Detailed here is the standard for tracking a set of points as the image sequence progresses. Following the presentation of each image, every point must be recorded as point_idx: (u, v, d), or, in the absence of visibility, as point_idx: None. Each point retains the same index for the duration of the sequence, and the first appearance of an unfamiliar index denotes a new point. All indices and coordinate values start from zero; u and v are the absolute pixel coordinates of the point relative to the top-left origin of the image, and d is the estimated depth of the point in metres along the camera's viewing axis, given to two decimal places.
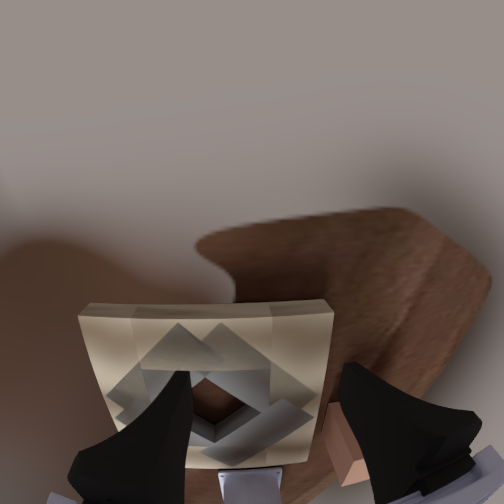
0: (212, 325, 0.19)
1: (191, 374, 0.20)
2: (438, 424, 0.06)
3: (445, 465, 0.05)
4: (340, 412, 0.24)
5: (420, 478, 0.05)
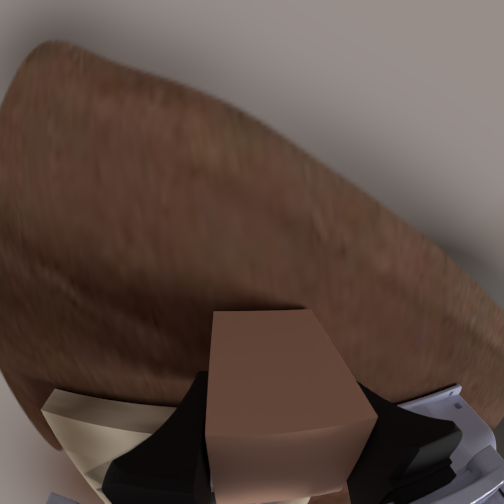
0: (88, 478, 0.14)
1: None
2: (412, 435, 0.06)
3: (421, 476, 0.05)
4: None
5: (393, 489, 0.05)
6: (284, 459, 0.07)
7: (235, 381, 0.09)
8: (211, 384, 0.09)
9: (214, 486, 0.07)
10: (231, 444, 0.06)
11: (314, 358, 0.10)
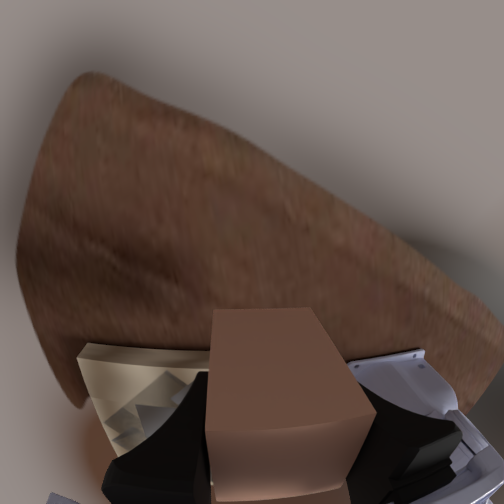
0: (107, 426, 0.21)
1: None
2: (412, 435, 0.06)
3: (421, 476, 0.05)
4: None
5: (393, 489, 0.05)
6: (283, 454, 0.07)
7: (234, 377, 0.09)
8: (211, 380, 0.09)
9: (214, 483, 0.07)
10: (231, 439, 0.07)
11: (313, 355, 0.10)
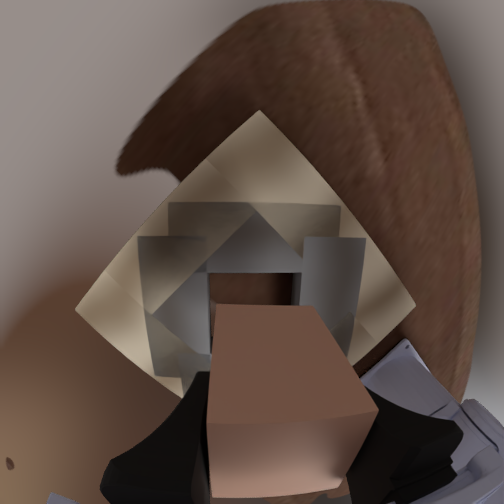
0: (164, 212, 0.17)
1: (193, 280, 0.18)
2: (413, 434, 0.06)
3: (422, 476, 0.05)
4: None
5: (394, 489, 0.05)
6: (283, 450, 0.07)
7: (237, 371, 0.09)
8: (213, 373, 0.09)
9: (211, 478, 0.07)
10: (232, 432, 0.07)
11: (316, 352, 0.10)
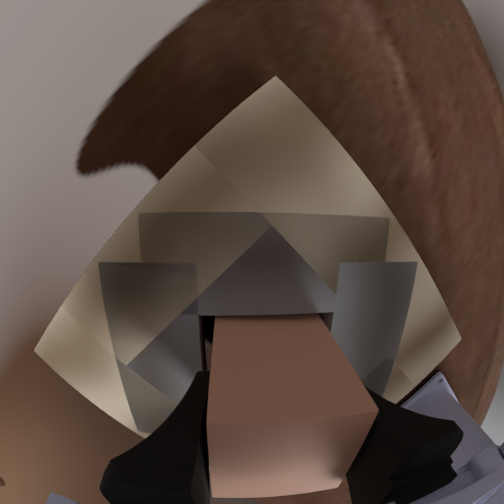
0: (133, 227, 0.11)
1: (179, 325, 0.12)
2: (413, 434, 0.06)
3: (422, 476, 0.05)
4: None
5: (394, 489, 0.05)
6: (284, 450, 0.07)
7: (237, 370, 0.09)
8: (213, 373, 0.09)
9: (211, 478, 0.07)
10: (232, 432, 0.07)
11: (316, 352, 0.10)
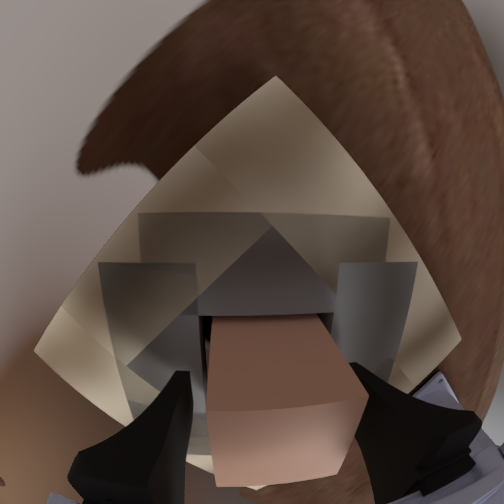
0: (133, 227, 0.11)
1: (178, 325, 0.12)
2: (438, 424, 0.06)
3: (445, 465, 0.05)
4: None
5: (420, 478, 0.05)
6: (280, 436, 0.08)
7: (234, 362, 0.10)
8: (211, 365, 0.09)
9: (214, 466, 0.08)
10: (230, 420, 0.07)
11: (309, 343, 0.11)
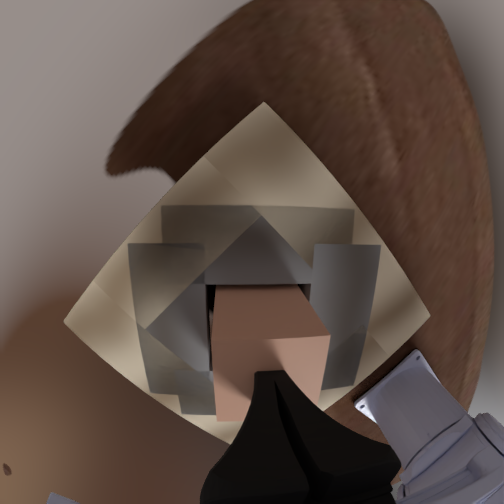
0: (157, 216, 0.15)
1: (189, 292, 0.16)
2: (334, 457, 0.06)
3: (350, 502, 0.05)
4: None
5: None
6: (265, 366, 0.12)
7: (232, 313, 0.13)
8: (215, 315, 0.13)
9: (215, 397, 0.12)
10: (228, 348, 0.11)
11: (289, 303, 0.15)
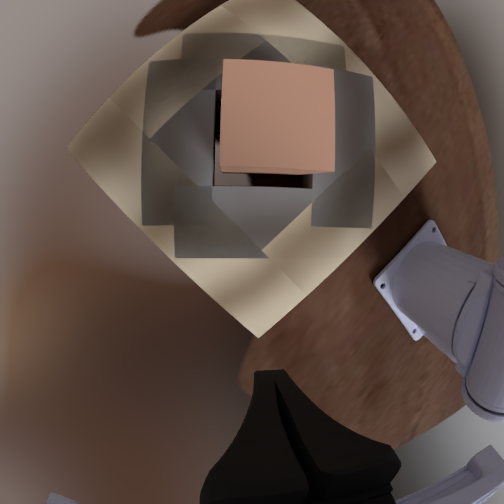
0: (179, 41, 0.14)
1: (200, 97, 0.15)
2: (334, 456, 0.06)
3: (350, 502, 0.05)
4: None
5: None
6: (274, 88, 0.11)
7: None
8: None
9: (221, 125, 0.11)
10: (239, 66, 0.10)
11: None
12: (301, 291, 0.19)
